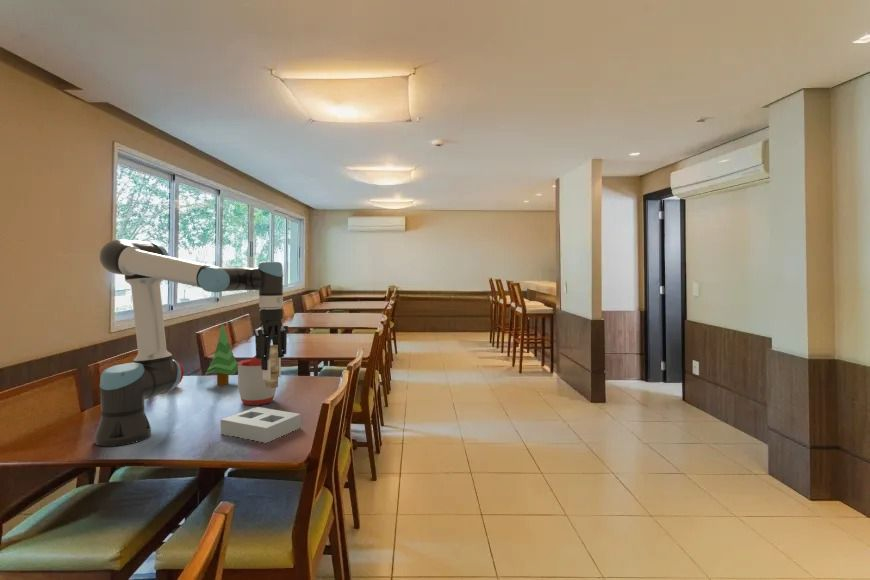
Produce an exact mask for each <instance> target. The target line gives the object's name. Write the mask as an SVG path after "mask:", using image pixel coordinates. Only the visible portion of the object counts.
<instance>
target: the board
mask: <svg viewBox="0 0 870 580" xmlns="http://www.w3.org/2000/svg"><path fill="white" fill-rule="evenodd" d="M301 423H302V416H301V413H297V412H290V411H284V410H279V409H272V408H267V407H260V406H255V407H252V408H250V409H247V410H243V411H241V412H238V413H235V414H232V415H229V416H227V417H226V416H225V417H223V418H220V435H222V434H224V435H223V436H227V435H230V436H229V437H232V436H235V437H234V438H236V437H240V438H239V439H241V438H245V439H244V440H246V439H250V440H249V441H251V440H255V441H254V442H256V441H261V442H266V443H267V442H269V441H271V440H273V439H276V438H278V437H280V438H282V437H281V436H283V435H285V436H287V435H289V434H291V433H293V432H292V431H294V430H296V431H298V430H300V429H301V428H302V424H301ZM299 428H300V429H299ZM297 429H298V430H297ZM290 432H291V433H290ZM294 432H295V431H294ZM288 433H289V434H288ZM286 434H287V435H286ZM283 437H284V436H283ZM278 439H279V438H278ZM276 440H277V439H276ZM261 442H260V443H261ZM269 443H270V442H269ZM267 444H268V443H267Z"/></svg>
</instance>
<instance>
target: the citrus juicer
mask: <svg viewBox="0 0 870 580" xmlns="http://www.w3.org/2000/svg"><path fill="white" fill-rule="evenodd" d="M237 362H238V363H237V364H238V370H237V386H238V393H239V396H240V400H241V402H242V404H244V405H246V406H247V405H248V406H255V405H258V406H260V405H266V404H268V403H271V402H273V400H274V398H275V395H276V394H275V393H276V391H277V388H266V380H264V379H263V370H262V369H261V366H262V365H261V360H259V359H257V358H256V355H254V356H253V357H252V358H249V359H244V360H239V361H237Z"/></svg>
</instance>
